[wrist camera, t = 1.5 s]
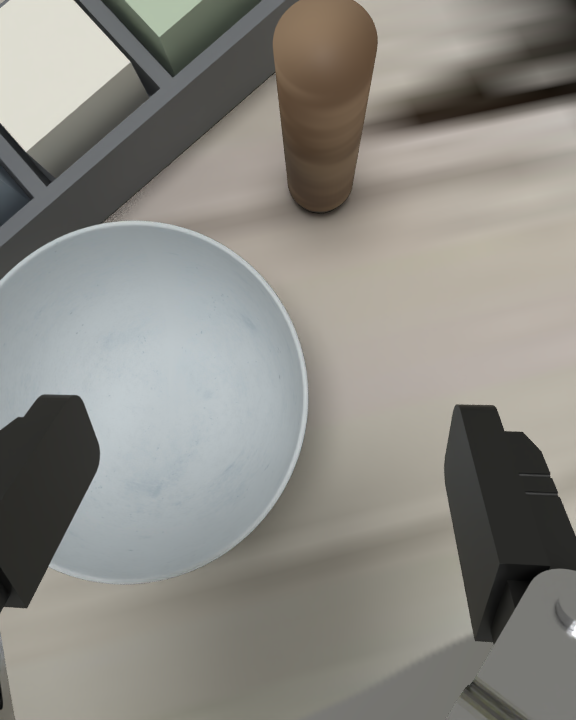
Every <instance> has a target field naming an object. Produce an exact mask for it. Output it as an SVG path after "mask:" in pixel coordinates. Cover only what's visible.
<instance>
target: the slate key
mask: <svg viewBox="0 0 576 720" xmlns="http://www.w3.org/2000/svg"><path fill="white" fill-rule="evenodd" d="M30 201H31V200H30V198H29V197H28V196H27V195H26V194H25V193H24V191H23V190H22V189H21V188H20V187H19V186H18V185H17V183H16V182H15V181H14V180H13V179H12V178H11V176H10V175H9V174H8V173H7V172H6V171H5V169H4V168H3V167H2V166H1V165H0V227H1V226H2V225H3V224H4V223H5V222H6V221H8V220H9V219H10V218H11V217H12V216H13V215H15V214H16V213H17V212H18V211H19V210H20V209H22V208H23V207H24V206H25V205H26V204H27V203H28V202H30Z"/></svg>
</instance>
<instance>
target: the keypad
mask: <svg viewBox="0 0 576 720" xmlns="http://www.w3.org/2000/svg"><path fill="white" fill-rule="evenodd" d="M8 1H9V0H5V1H4V2H3V3H1V4H0V8H1V7H2V6H4V5H5V4H6V3H7V2H8ZM74 1H75V2H76V3H77V4H78V6H79V7H80V8H81V9H82V10H83V11H84V12H85V13H86V14H87V15H88V16H89V17H90V19H91V20H92V21H93V22H94V23H95V24H96V25H97V26H98V27H99V28H100V29H101V30H102V32H103V33H104V34H105V35H106V36H107V37H108V38H109V39H110V40H111V41H112V42H113V43H114V45H115V46H116V47H117V48H118V49H119V50H120V51H121V52H122V53H123V54H124V55H125V56H126V58H127V59H128V60H129V61H130V62H131V64H132V66H133V67H134V69H135V71H136V73H137V75H138V77H139V79H140V81H141V83H142V85H143V86H144V88H145V90H146V92H147V94H148V96H149V99H148V100H146V101H145V102H144V103H143V104H142V105H141V106H140V107H138V108H137V109H136V110H135V111H134V112H133V113H131V114H130V115H129V116H128V117H127V118H126V119H124V120H123V121H122V122H121V123H120V124H119V125H118V126H116V127H115V128H114V129H113V130H112V131H111V132H109V133H108V134H107V135H106V136H105V137H104V138H102V139H101V140H100V141H99V142H98V143H97V144H96V145H94V146H93V147H92V148H91V149H90V150H89V151H87V152H86V153H85V154H84V155H83V156H82V157H81V158H79V159H78V160H77V161H76V162H75V163H74V164H72V165H71V166H70V167H69V168H68V169H67V170H65V171H64V172H63V173H62V174H61V175H60V176H59V177H57V178H54V177H53V176H52V175H51V174H50V173H49V172H48V171H47V170H45V169H44V168H43V167H42V166H41V165H40V164H39V163H38V162H37V161H35V160H34V159H33V158H32V157H31V156H30V155H29V154H28V153H26V152H25V150H24V149H23V148H22V147H21V146H20V145H19V144H18V142H17V141H16V140H15V139H14V138H13V137H12V136H11V134H10V133H9V132H8V131H7V130H6V129H5V128H4V126H3V125H2V124H1V123H0V165H1V166H2V167H3V168H4V169H5V171H6V172H7V173H8V174H9V175H10V176H11V178H12V179H13V180H14V181H15V182H16V183H17V185H18V186H19V187H20V188H21V189H22V190H23V191H24V193H25V194H26V195H27V196H28V197H29V198H30V200H31V201H30V202H28V203H27V204H26V205H25V206H24V207H23V208H22V209H20V210H19V211H18V212H17V213H16V214H15V215H13V216H12V217H11V218H10V219H9V220H8V221H6V222H5V223H4V224H3V225H2V226H1V227H0V280H1V279H2V278H3V277H4V276H5V275H6V274H7V273H8V272H9V271H10V270H11V269H12V268H14V267H15V266H16V265H17V264H18V263H19V262H21V261H22V260H23V259H24V258H26V257H27V256H28V255H30V254H31V253H33V252H34V251H36V250H37V249H39V248H40V247H42V246H44V245H46V244H47V243H49V242H51V241H53V240H55V239H57V238H59V237H61V236H63V235H66V234H68V233H71V232H74V231H77V230H79V229H83V228H86V227H90V226H94V225H98V224H101V223H102V222H103V221H104V220H105V219H107V218H108V217H109V216H110V215H111V214H112V213H114V212H115V211H116V210H117V209H118V208H119V207H120V206H122V205H123V204H124V203H125V202H126V201H127V200H128V199H130V198H131V197H132V196H133V195H134V194H135V193H137V192H138V191H139V190H140V189H141V188H142V187H143V186H145V185H146V184H147V183H148V182H149V181H150V180H151V179H153V178H154V177H155V176H156V175H157V174H158V173H159V172H161V171H162V170H163V169H164V168H165V167H166V166H168V165H169V164H170V163H171V162H172V161H173V160H174V159H176V158H177V157H178V156H179V155H180V154H181V153H182V152H184V151H185V150H186V149H187V148H188V147H189V146H191V145H192V144H193V143H194V142H195V141H196V140H197V139H199V138H200V137H201V136H202V135H203V134H204V133H205V132H207V131H208V130H209V129H210V128H211V127H212V126H214V125H215V124H216V123H217V122H218V121H219V120H220V119H222V118H223V117H224V116H225V115H226V114H227V113H228V112H230V111H231V110H232V109H233V108H234V107H235V106H237V105H238V104H239V103H240V102H241V101H242V100H243V99H245V98H246V97H247V96H248V95H249V94H250V93H251V92H253V91H254V90H255V89H256V88H257V87H258V86H260V85H261V84H262V83H263V82H264V81H265V80H266V79H268V78H269V77H270V76H271V75H272V74H273V73H274V72H275V63H274V53H273V36H274V32H275V28H276V26H277V24H278V22H279V20H280V18H281V17H282V15H283V14H284V13H285V11H287V10H288V9H289V8H290V7H291V6H292V5H293V4H295V3H296V2H298V1H299V0H262V1H261V2H260V3H259V4H257V5H256V6H255V7H254V8H253V9H252V10H251V11H249V12H248V13H247V14H246V15H245V16H244V17H242V18H241V19H240V20H239V21H238V22H237V23H236V24H234V25H233V26H232V27H231V28H230V29H229V30H227V31H226V32H225V33H224V34H223V35H222V36H220V37H219V38H218V39H217V40H216V41H215V42H214V43H212V44H211V45H210V46H209V47H208V48H207V49H205V50H204V51H203V52H202V53H201V54H200V55H198V56H197V57H196V58H195V59H194V60H193V61H192V62H190V63H189V64H188V65H187V66H186V67H185V68H183V69H182V70H181V71H180V72H179V73H178V74H177V75H175V76H174V77H172V76H171V75H170V74H169V72H168V71H167V70H166V69H165V68H164V67H163V66H162V65H161V64H160V63H159V62H158V61H157V60H156V58H155V57H154V56H153V55H152V54H151V53H150V52H149V51H148V50H147V49H146V48H145V47H144V46H143V45H142V43H141V42H140V41H139V40H138V39H137V38H136V37H135V36H134V35H133V34H132V33H131V32H130V31H129V30H128V28H127V27H126V26H125V25H124V24H123V23H122V22H121V21H120V20H119V19H118V18H117V17H116V16H115V14H114V13H113V12H112V11H111V10H110V9H109V8H108V7H107V6H106V5H105V4H104V3H103V2H102V0H74Z"/></svg>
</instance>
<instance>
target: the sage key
mask: <svg viewBox="0 0 576 720" xmlns="http://www.w3.org/2000/svg"><path fill="white" fill-rule="evenodd" d="M261 1H262V0H102V2H103V3H104V4H105V5H106V6H107V7H108V8H109V9H110V10H111V11H112V12H113V13H114V14H115V16H116V17H117V18H118V19H119V20H120V21H121V22H122V23H123V24H124V25H125V26H126V27H127V28H128V30H129V31H130V32H131V33H132V34H133V35H134V36H135V37H136V38H137V39H138V40H139V41H140V42H141V43H142V45H143V46H144V47H145V48H146V49H147V50H148V51H149V52H150V53H151V54H152V55H153V56H154V57H155V58H156V60H157V61H158V62H159V63H160V64H161V65H162V66H163V67H164V68H165V69H166V70H167V71H168V72H169V74H170V75H171V76H172V77H174V76H175V75H177V74H178V73H179V72H180V71H181V70H182V69H183V68H185V67H186V66H187V65H188V64H189V63H190V62H192V61H193V60H194V59H195V58H196V57H197V56H198V55H200V54H201V53H202V52H203V51H204V50H205V49H207V48H208V47H209V46H210V45H211V44H212V43H214V42H215V41H216V40H217V39H218V38H219V37H220V36H222V35H223V34H224V33H225V32H226V31H227V30H229V29H230V28H231V27H232V26H233V25H234V24H236V23H237V22H238V21H239V20H240V19H241V18H242V17H244V16H245V15H246V14H247V13H248V12H249V11H251V10H252V9H253V8H254V7H255V6H256V5H257V4H259V3H260V2H261Z"/></svg>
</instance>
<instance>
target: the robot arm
mask: <svg viewBox="0 0 576 720" xmlns="http://www.w3.org/2000/svg"><path fill="white" fill-rule="evenodd" d="M99 461H100V447H99V443H98V440H97V437H96V435H95V432H94V429H93V426H92V424H91V421H90V418H89V416H88V413H87V410H86V407H85V405H84V402H83V400H82V399H81V397H80V396H78V395H54V394H44V395H41V396H39V397H38V398H37V399H36V401H35V402H34V403H33V405H32V406H31V407H30V409H29V410H28V411H27V413H26V414H25V416H24V417H17V418H16V419H14V420H13V421H12V422H10V423H9V424H8V425H6V426H5V427H4V428H2V429H1V430H0V612H1V611H2V609H3V607H16V608H27V607H28V605H29V603H30V602H31V600H32V598H33V596H34V594H35V592H36V590H37V588H38V586H39V584H40V582H41V580H42V578H43V576H44V574H45V572H46V570H47V568H48V566H49V564H50V562H51V560H52V558H53V556H54V554H55V553H56V551H57V549H58V547H59V545H60V543H61V541H62V539H63V537H64V535H65V533H66V531H67V529H68V527H69V525H70V523H71V521H72V519H73V517H74V515H75V513H76V511H77V509H78V507H79V505H80V504H81V502H82V500H83V498H84V496H85V494H86V492H87V490H88V488H89V486H90V484H91V482H92V480H93V478H94V476H95V474H96V472H97V469H98V466H99ZM444 474H445V486H446V491H447V497H448V502H449V507H450V512H451V518H452V523H453V528H454V534H455V539H456V544H457V549H458V555H459V560H460V565H461V570H462V576H463V581H464V586H465V592H466V597H467V602H468V607H469V613H470V618H471V623H472V629H473V634H474V639H475V641H483V642H484V641H485V642H493V643H494V646H493V648H492V650H491V651H490V653H489V655H488V657H487V658H486V660H485V662H484V664H483V665H482V667H481V669H480V671H479V672H478V674H477V675H476V677H475V679H474V680H473V682H472V683H471V684H470V685H468V686H467V687H466V688H465V689H464V691H463V692H462V693H461V695H460V696H459V698H458V700H457V702H456V703H455V705H454V706H453V708H452V710H451V711H450V713H449V715H448V716H447V718H446V720H576V536H575V533H574V531H573V528H572V526H571V524H570V521H569V519H568V516H567V514H566V511H565V509H564V506H563V504H562V501H561V499H560V497H558V491H557V489H556V487H555V484H554V482H553V479H552V478H550V472H549V469H548V467H547V464H546V462H545V459H544V457H543V454H542V452H541V451H540V450H539V449H538V447H537V446H536V445H535V444H534V443H533V442H532V441H531V440H530V439H529V438H528V437H527V436H526V435H525V434H524V433H523V432H509V431H504V428H503V426H502V423H501V420H500V417H499V414H498V411H497V409H496V407H495V406H493V405H455V407H454V410H453V415H452V421H451V426H450V432H449V437H448V443H447V449H446V454H445V464H444ZM0 720H16V719H15V716H14V711H13V706H12V700H11V694H10V688H9V682H8V676H7V670H6V664H5V658H4V652H3V646H2V640H1V634H0Z"/></svg>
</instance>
